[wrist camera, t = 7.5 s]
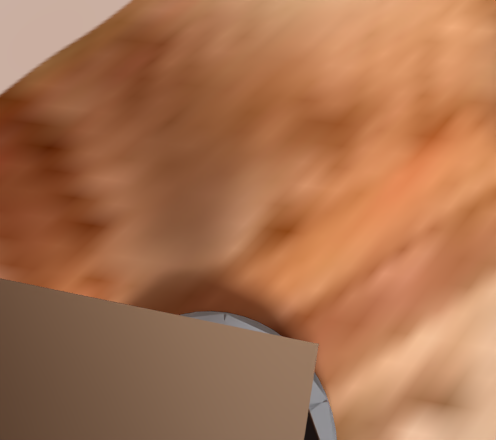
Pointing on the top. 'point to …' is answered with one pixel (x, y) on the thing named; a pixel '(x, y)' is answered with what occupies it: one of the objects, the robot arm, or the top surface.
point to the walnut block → (142, 373)
